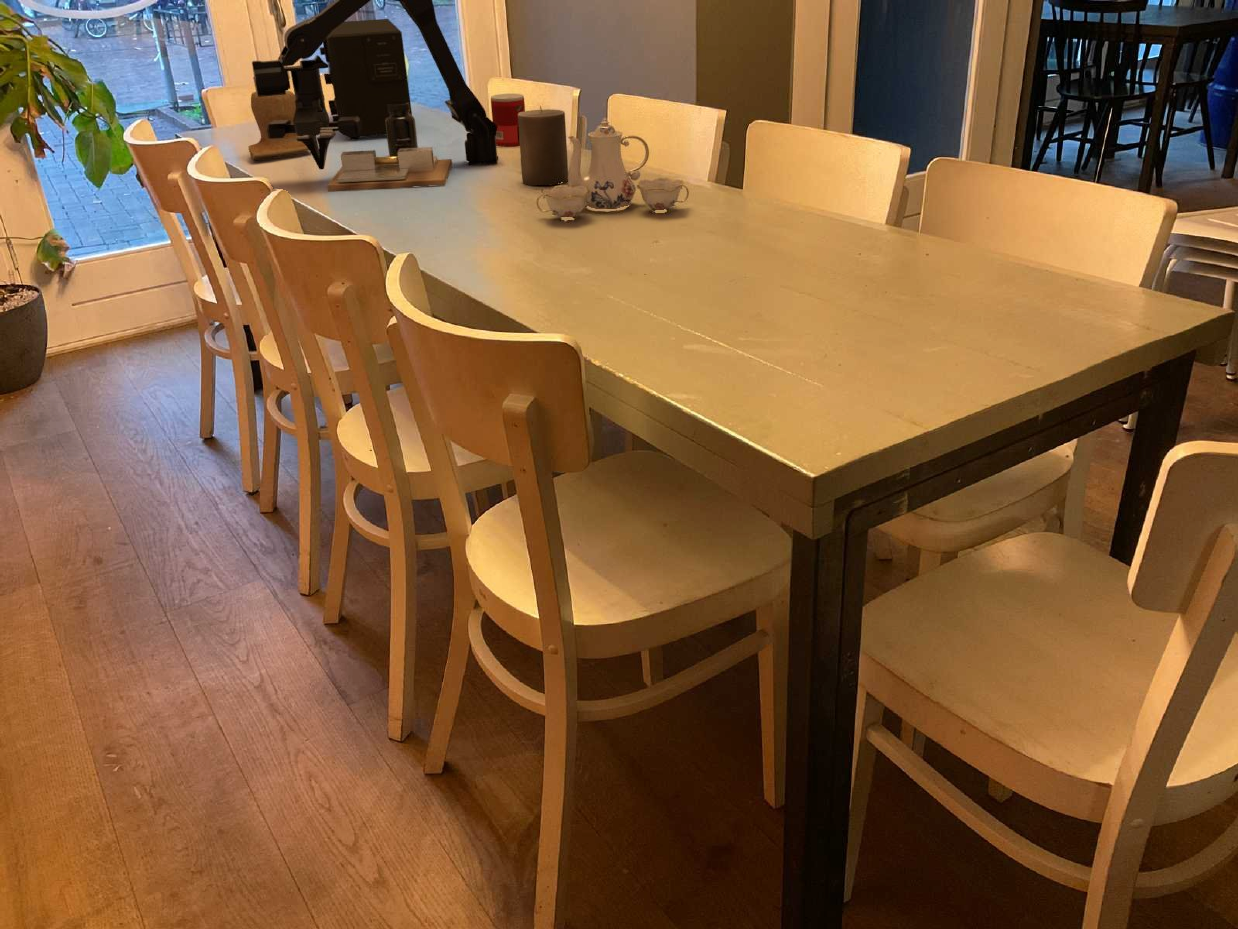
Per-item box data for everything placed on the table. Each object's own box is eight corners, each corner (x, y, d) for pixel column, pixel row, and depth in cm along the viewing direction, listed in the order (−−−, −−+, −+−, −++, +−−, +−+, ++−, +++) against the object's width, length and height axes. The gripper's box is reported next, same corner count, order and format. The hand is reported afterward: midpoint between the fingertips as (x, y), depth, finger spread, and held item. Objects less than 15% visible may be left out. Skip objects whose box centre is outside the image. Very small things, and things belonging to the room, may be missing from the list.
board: (452, 164, 229) (451, 158, 228) (444, 185, 212) (443, 179, 211) (344, 169, 228) (343, 164, 227) (328, 191, 211) (327, 185, 210)
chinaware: (547, 238, 181) (543, 145, 172) (528, 206, 194) (523, 118, 185) (695, 221, 188) (699, 130, 178) (667, 191, 201) (669, 105, 191)
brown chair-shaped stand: (300, 147, 252) (289, 83, 245) (317, 154, 243) (306, 88, 236) (239, 156, 245) (225, 90, 237) (254, 164, 236) (241, 96, 229)
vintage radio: (330, 118, 287) (315, 22, 275) (400, 112, 291) (388, 17, 279) (337, 143, 255) (319, 35, 243) (415, 136, 260) (401, 30, 248)
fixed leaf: (437, 160, 227) (435, 140, 225) (433, 171, 218) (430, 150, 216) (374, 163, 227) (371, 143, 225) (367, 174, 217) (364, 153, 215)
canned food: (525, 146, 244) (522, 98, 239) (492, 147, 244) (488, 99, 239) (528, 139, 251) (525, 92, 246) (496, 140, 251) (492, 93, 246)
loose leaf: (411, 167, 221) (409, 148, 219) (405, 179, 211) (402, 159, 209) (346, 170, 220) (343, 151, 218) (337, 182, 211) (334, 162, 209)
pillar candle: (562, 186, 207) (558, 109, 200) (516, 185, 209) (510, 109, 202) (573, 176, 216) (570, 102, 209) (529, 175, 217) (524, 101, 210)
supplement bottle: (403, 161, 234) (396, 106, 228) (383, 157, 238) (375, 104, 232) (425, 155, 239) (418, 101, 233) (405, 152, 242) (398, 99, 237)
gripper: (253, 100, 203) (269, 180, 211) (347, 96, 204) (359, 175, 211) (266, 92, 213) (281, 167, 220) (356, 87, 214) (367, 163, 221)
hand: (321, 168), depth 218 cm, fingers closed
